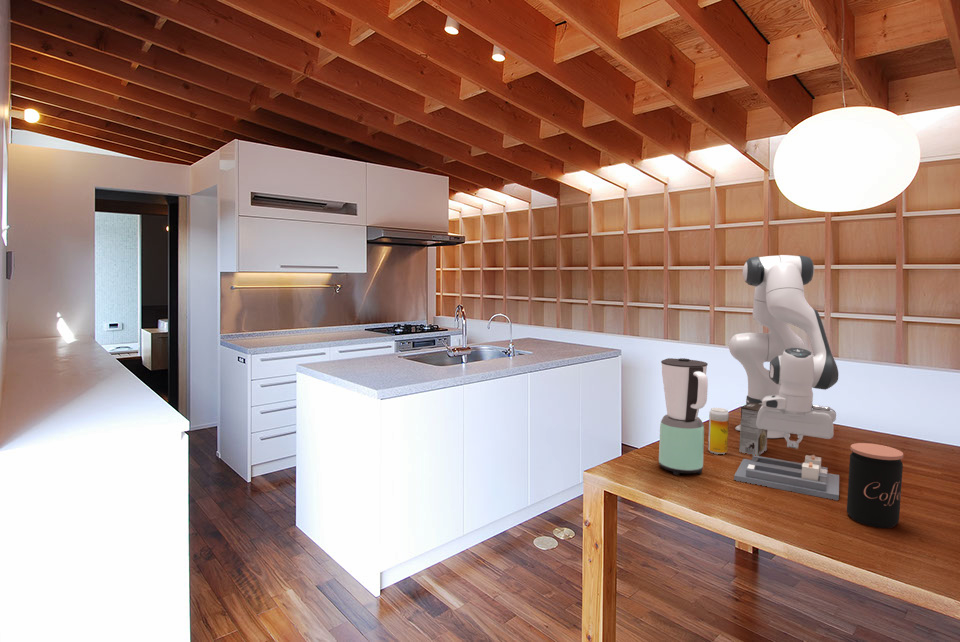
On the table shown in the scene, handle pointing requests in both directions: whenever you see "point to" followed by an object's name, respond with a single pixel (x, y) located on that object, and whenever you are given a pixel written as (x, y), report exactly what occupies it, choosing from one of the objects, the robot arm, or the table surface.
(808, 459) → the tab
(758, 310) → the robot arm
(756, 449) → the coffee box
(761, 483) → the switch bank
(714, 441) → the beer can
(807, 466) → the tab
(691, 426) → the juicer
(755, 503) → the table surface
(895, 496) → the coffee jar
